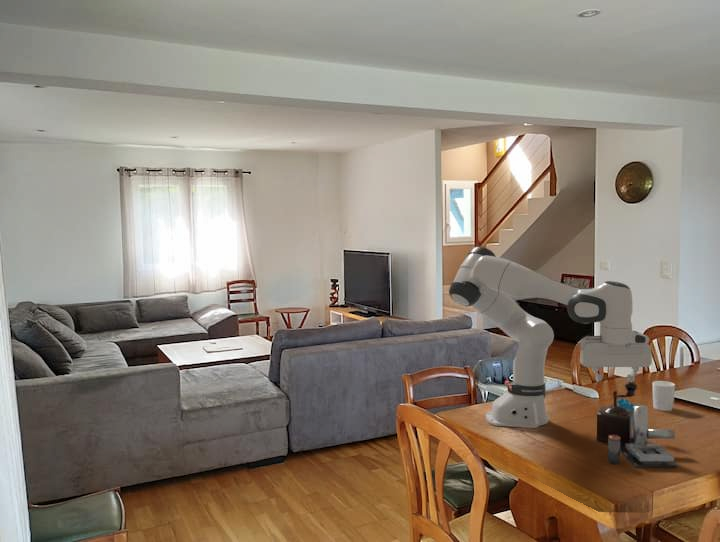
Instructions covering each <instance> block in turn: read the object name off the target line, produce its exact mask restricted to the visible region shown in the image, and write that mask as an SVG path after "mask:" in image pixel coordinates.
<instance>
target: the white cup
mask: <svg viewBox="0 0 720 542" xmlns="http://www.w3.org/2000/svg"><path fill="white" fill-rule="evenodd" d="M651 384H652V403H653V405H652V408H653V409H654V410H657V411H661V412H662V411H663V412H671V411H673V409H674V402H675V393H676V392H675V391H676V384H675V383H674V382H672V381H666V380H654V381H652V383H651Z"/></svg>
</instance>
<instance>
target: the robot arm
mask: <svg viewBox="0 0 720 542" xmlns="http://www.w3.org/2000/svg"><path fill="white" fill-rule="evenodd" d="M448 290H449V291H448V293H449V296H450V298H451V299H452V301H453V302H454V303H456V304H459V305H460V306H463V307H472V308H474V310H475V311H476V312H478V313H479V314H480V315H482V316H483V317H485V318H486V319H488V320H489V321H490V322H491V323H493V324H494V325H495V326H496V327H498V329H500V330H502V331H503V333H504V334H506V335H507V336H509V337H510V338H511V339H512V340H513V341H515V342H517V343H518V347H517V348H518V349H517V352H516V355H515V358H513V362H512V365H513V367H512V374H513V375H512V381H509V380H505V381H504V386H505V387H507V391H506V392H505V393H503V394H502V395H500V396H499V397H498V398H496V399H495V400H494V401H493V403H492V406H491V411H487V412H486V414H485V419H486V422H488V423H489V424H491V425H493V426H497V427H513V428H523V429H524V428H525V429H526V428H527V429H528V428H529V429H536V428H538V427H540V426H543V425H546V424H548V423H549V419H548V415H547V410H546V409H547V408H546V401H545V399H546V382H545V363H546V362H545V361H546V357H547V354H548V349H549V347H550V346H551V345H552V343H554V342H553V341H554V337H555V334H554V330H553V328H552V327H551V325H549V323H547V322H546V321H545V320H543V319H541V318H538V317H535V316H533V315H531V314H530V313H528V312H527V311H525V310H524V309H523V308H522V307H521V306H520V305H519V304H518V303H517V302H516V301H515V300H514V299H513V298H516V299H528V298H544V299H547V300H551V301H555V302H556V303H560V304H563V305H566V311H567V314H568V316H569V317H570V318H571V319H572V321H574V322H576V323H578V324H585V325H586V324H593V323H599V335H586V336H584V337H582V338H581V340H580V343H579V347H580V355H579V363H580V364H581V365H582V366H583V368H584V367H585V368H591V370H592V372H593V373H594V375H595V382H603V375H602V374H599V372H598V371H599V370H600V368H631V371H630V374H627V379H626V380H627V382H635V379H636V378H635V377H636V376H637V374H638V372H639V371H640V369H639V368H649V367H650V366H651V365H652V364H653V363H652V362H653V357H652V356H653V355H652V348H651V346H650V345H649V342H650V337H649V336H648V335H646V334H645V333H641V332H639V331H636V330H633V324H632V315H633V294H632V290H631V288H630V287H629V286H628V285H627V284H626V283H625V284H624V283H623V282H619V281H611V280H607V281H603V282H602V283H601V284H599V285H597V286H595V287H575V286H572V285H569V284H566V283H562V282H560V281H558V280H554V279H551V278H548V277H546V276H544V275H542V274H540V273H538V272H536V271H534V270H532V269H530V268H528V267H526V266H524V265H522V264H519V263H518V262H515V261H512V260H509V259H506V258H503V257H499V256H496V254H495V253H494V252H493V251H492V249H491V250H490V249H489V248H487V247H484V246H475V247H473V248H472V249H471V250H470V251H469V253H468V254H467V256H466V258H465V259H464V261H463V262H462V263H461V264H460V266H459V268H458V271H457V272H456V274H455V277H454V279H453V282H451V284H450V286H449V289H448Z"/></svg>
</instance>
